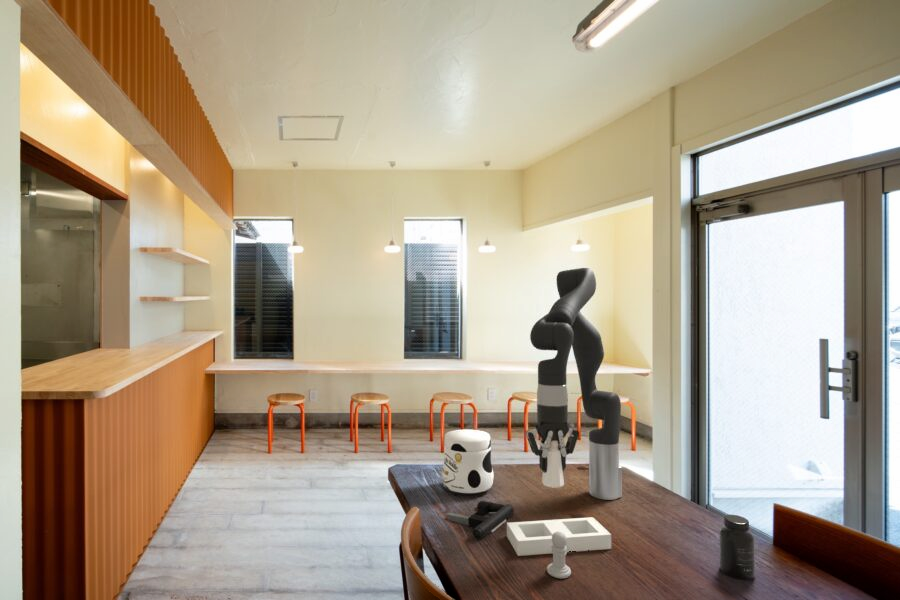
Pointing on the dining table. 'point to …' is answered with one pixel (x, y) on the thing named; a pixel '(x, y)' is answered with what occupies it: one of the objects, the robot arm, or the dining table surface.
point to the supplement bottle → (737, 548)
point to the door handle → (484, 518)
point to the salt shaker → (553, 467)
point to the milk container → (467, 462)
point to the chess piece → (559, 557)
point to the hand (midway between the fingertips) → (552, 470)
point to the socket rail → (539, 533)
